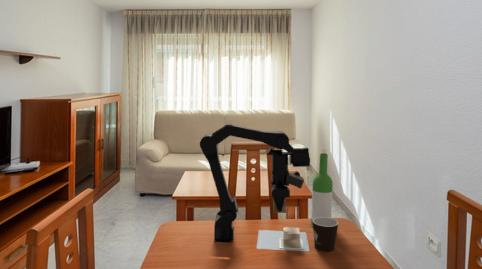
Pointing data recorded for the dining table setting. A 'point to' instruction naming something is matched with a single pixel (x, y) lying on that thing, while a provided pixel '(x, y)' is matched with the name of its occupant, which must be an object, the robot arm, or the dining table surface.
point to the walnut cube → (282, 207)
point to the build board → (279, 241)
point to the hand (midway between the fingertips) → (279, 208)
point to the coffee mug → (325, 233)
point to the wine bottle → (322, 191)
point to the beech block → (291, 237)
